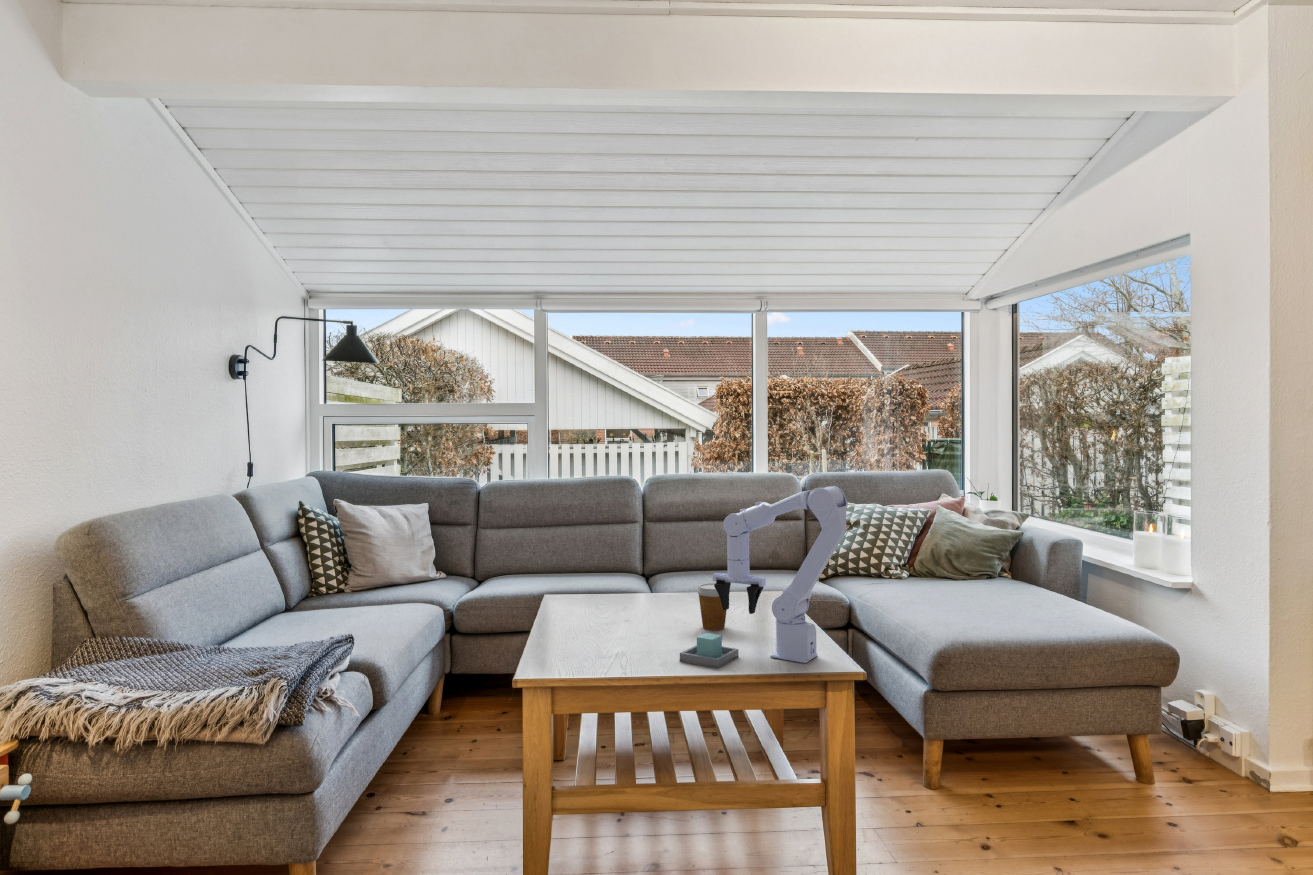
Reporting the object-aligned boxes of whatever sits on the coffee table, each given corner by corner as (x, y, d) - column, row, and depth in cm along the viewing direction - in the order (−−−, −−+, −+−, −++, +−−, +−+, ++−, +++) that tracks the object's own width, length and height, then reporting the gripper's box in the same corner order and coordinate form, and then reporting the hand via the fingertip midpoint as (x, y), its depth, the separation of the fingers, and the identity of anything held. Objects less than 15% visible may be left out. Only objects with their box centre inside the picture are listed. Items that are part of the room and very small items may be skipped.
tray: (738, 657, 178) (738, 648, 178) (717, 668, 170) (717, 659, 170) (701, 650, 184) (701, 642, 184) (679, 661, 176) (679, 652, 176)
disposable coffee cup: (728, 632, 202) (728, 589, 202) (694, 631, 203) (694, 588, 204) (731, 624, 211) (731, 583, 211) (699, 622, 213) (699, 582, 213)
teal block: (721, 655, 178) (721, 635, 178) (712, 660, 174) (712, 639, 174) (706, 652, 180) (706, 632, 180) (696, 657, 176) (696, 636, 177)
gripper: (706, 558, 188) (707, 610, 188) (756, 563, 180) (757, 617, 180) (719, 555, 194) (720, 605, 194) (768, 559, 186) (769, 612, 185)
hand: (738, 611), depth 187 cm, fingers open, 7 cm apart
